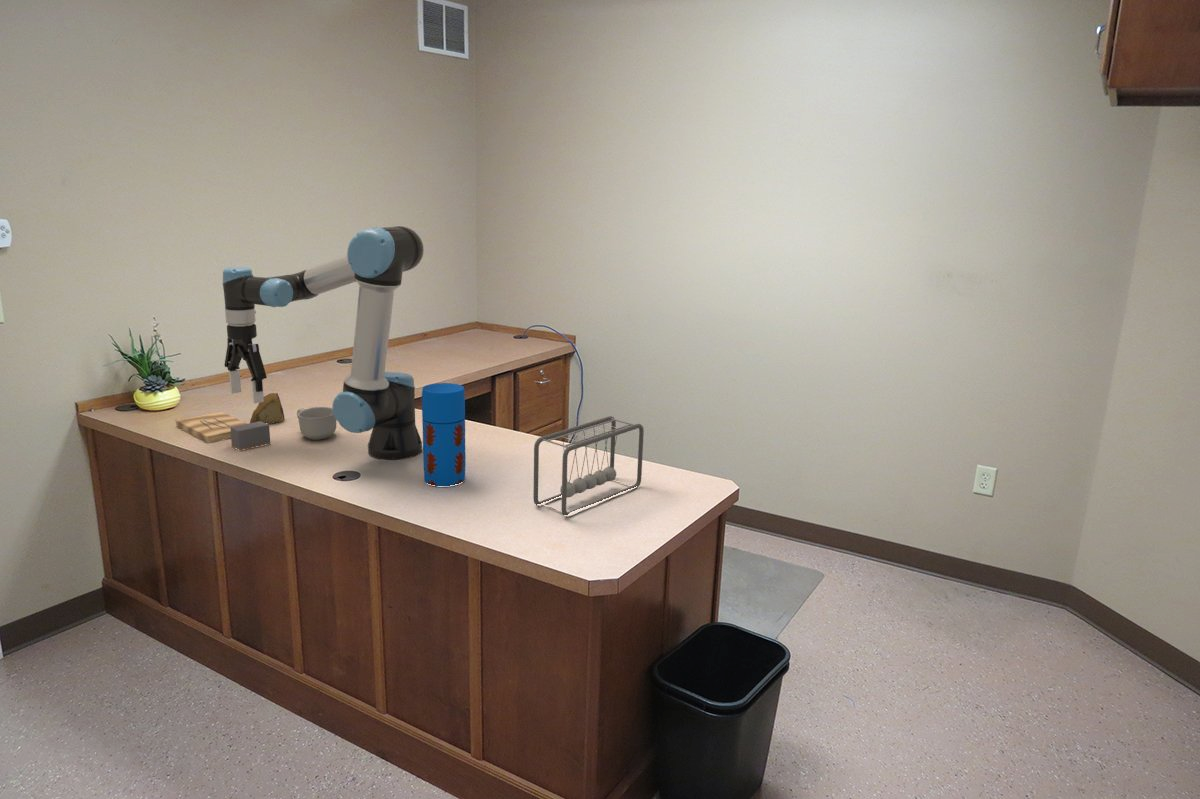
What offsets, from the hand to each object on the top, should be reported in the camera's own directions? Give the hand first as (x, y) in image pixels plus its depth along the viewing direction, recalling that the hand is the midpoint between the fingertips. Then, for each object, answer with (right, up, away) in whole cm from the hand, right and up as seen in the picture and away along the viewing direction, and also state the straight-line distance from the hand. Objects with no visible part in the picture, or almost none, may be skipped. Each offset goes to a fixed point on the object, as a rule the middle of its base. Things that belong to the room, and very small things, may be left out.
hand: (247, 397), depth 233 cm
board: (-17, -10, +16) cm, 25 cm away
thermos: (+60, -22, -18) cm, 66 cm away
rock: (-4, -8, +25) cm, 27 cm away
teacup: (+15, -12, +14) cm, 23 cm away
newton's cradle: (+98, -26, -26) cm, 104 cm away
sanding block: (0, -14, +4) cm, 14 cm away
